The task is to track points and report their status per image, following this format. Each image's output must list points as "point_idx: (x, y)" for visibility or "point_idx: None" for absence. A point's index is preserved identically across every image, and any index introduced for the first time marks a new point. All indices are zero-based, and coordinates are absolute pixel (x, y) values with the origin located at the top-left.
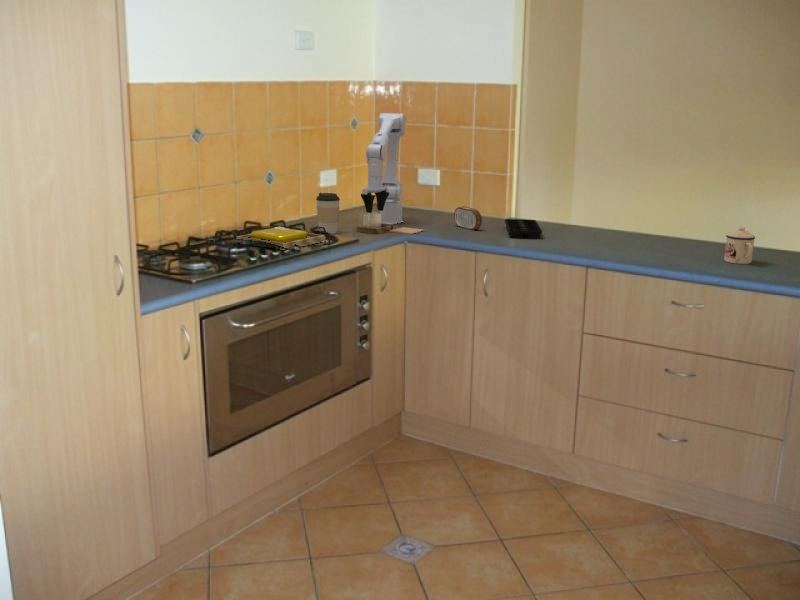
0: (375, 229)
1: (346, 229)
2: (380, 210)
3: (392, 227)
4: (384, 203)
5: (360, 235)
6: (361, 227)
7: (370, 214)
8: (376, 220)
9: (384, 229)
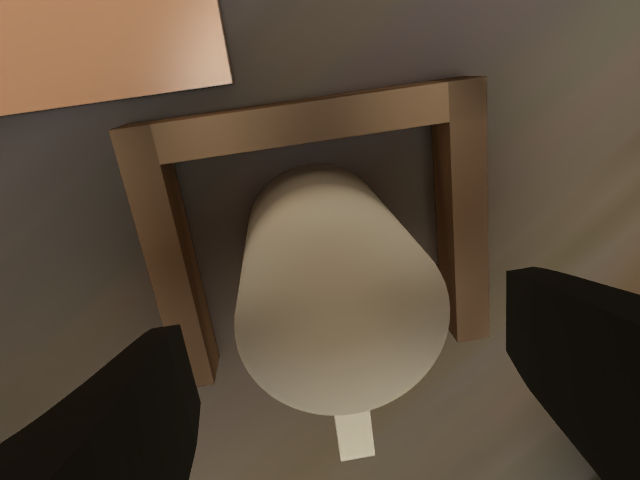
0: (485, 88)
1: (438, 435)
2: (186, 357)
3: (124, 126)
4: (86, 394)
5: (624, 138)
6: (486, 281)
7: (444, 313)
8: (380, 207)
9: (304, 100)
